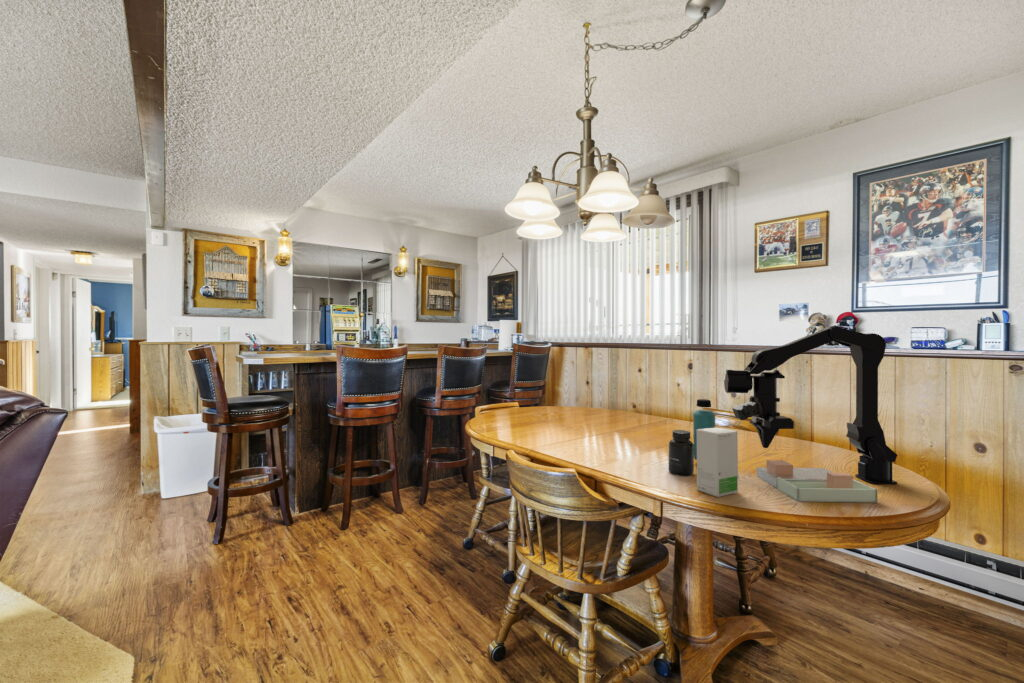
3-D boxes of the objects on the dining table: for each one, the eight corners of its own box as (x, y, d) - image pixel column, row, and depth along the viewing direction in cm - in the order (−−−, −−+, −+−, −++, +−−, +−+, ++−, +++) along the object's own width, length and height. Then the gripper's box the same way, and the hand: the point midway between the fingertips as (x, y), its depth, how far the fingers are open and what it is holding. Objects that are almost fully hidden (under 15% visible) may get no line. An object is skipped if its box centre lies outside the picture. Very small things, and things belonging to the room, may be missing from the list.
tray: (850, 489, 110) (850, 477, 110) (877, 502, 101) (877, 489, 101) (777, 488, 111) (777, 477, 111) (797, 501, 102) (797, 488, 102)
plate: (823, 476, 120) (823, 468, 120) (849, 489, 110) (849, 479, 110) (756, 476, 121) (756, 467, 121) (776, 488, 111) (776, 478, 111)
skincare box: (717, 498, 105) (717, 433, 105) (694, 489, 111) (694, 429, 110) (739, 492, 109) (739, 430, 108) (716, 484, 114) (716, 425, 114)
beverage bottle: (718, 467, 129) (718, 401, 129) (695, 466, 131) (694, 400, 131) (713, 461, 136) (712, 398, 136) (690, 460, 137) (690, 397, 137)
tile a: (846, 472, 108) (853, 476, 105) (846, 490, 108) (853, 494, 105) (826, 472, 108) (833, 475, 106) (827, 490, 108) (833, 493, 106)
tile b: (783, 469, 119) (783, 460, 119) (793, 474, 114) (793, 465, 114) (766, 469, 119) (766, 460, 119) (775, 474, 115) (775, 464, 115)
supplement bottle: (668, 474, 123) (667, 432, 123) (669, 468, 129) (668, 428, 129) (694, 477, 120) (694, 434, 120) (693, 470, 127) (693, 429, 127)
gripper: (722, 390, 134) (722, 440, 134) (752, 398, 115) (752, 456, 115) (759, 390, 133) (759, 440, 133) (795, 397, 115) (795, 456, 115)
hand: (765, 447), depth 124 cm, fingers closed
